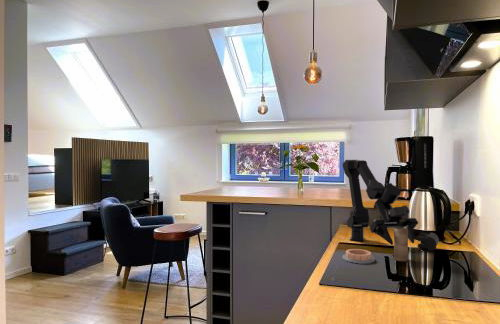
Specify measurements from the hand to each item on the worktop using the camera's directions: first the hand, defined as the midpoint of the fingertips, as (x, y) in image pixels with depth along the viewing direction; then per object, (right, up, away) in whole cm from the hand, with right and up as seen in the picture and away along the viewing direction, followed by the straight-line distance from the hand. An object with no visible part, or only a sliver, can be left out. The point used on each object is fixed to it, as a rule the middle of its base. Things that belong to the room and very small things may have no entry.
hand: (403, 243), depth 135 cm
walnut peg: (0, -7, +1) cm, 7 cm away
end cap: (+18, -7, +16) cm, 25 cm away
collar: (-17, -7, +2) cm, 18 cm away
